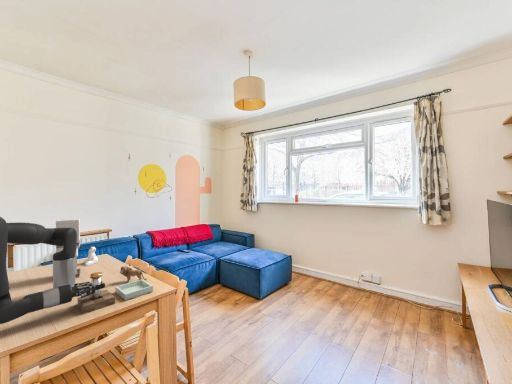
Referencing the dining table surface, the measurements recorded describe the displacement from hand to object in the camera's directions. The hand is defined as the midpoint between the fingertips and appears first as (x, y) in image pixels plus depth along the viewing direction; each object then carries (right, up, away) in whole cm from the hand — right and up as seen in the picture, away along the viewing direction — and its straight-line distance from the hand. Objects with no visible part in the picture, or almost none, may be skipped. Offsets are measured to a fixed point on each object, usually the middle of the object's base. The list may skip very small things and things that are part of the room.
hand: (103, 284), depth 113 cm
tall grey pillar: (-42, -8, +32) cm, 53 cm away
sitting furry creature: (-45, -7, +56) cm, 72 cm away
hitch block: (-2, -9, -2) cm, 9 cm away
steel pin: (-2, -9, -2) cm, 9 cm away
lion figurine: (+1, -8, +25) cm, 26 cm away
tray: (+9, -8, +11) cm, 17 cm away
